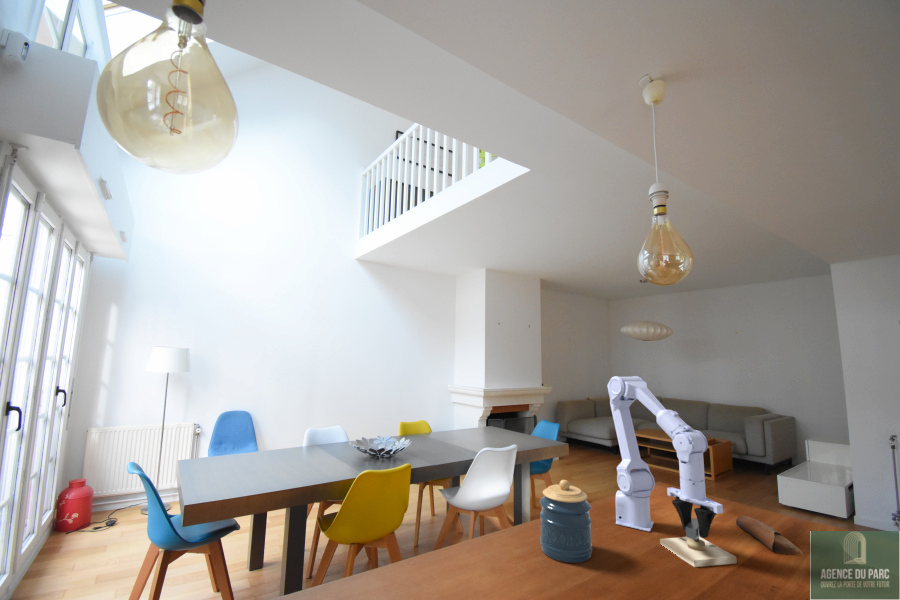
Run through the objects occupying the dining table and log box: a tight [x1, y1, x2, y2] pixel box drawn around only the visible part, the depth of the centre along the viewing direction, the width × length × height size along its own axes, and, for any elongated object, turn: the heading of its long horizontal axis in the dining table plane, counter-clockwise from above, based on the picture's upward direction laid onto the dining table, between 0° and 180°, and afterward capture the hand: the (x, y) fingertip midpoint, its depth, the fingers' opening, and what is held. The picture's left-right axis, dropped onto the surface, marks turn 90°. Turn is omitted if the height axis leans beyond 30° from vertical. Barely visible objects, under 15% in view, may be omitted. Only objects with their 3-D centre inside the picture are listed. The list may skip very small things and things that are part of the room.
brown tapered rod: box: [735, 515, 804, 556], centre depth 115 cm, size 18×7×7 cm
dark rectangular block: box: [685, 516, 700, 541], centre depth 107 cm, size 2×9×4 cm, turn 138°
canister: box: [539, 479, 593, 564], centre depth 107 cm, size 13×13×18 cm
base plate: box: [659, 536, 738, 568], centre depth 106 cm, size 12×12×3 cm
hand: (695, 533), depth 107 cm, fingers closed on dark rectangular block, 4 cm apart
